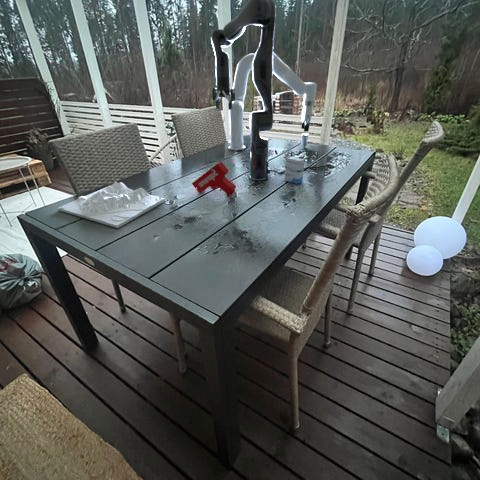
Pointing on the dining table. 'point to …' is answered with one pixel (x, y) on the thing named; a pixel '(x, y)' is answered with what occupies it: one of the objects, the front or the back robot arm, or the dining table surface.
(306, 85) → the back robot arm
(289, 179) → the ink box
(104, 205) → the relief map
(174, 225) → the dining table surface
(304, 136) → the metal cylinder
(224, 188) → the toy gun
